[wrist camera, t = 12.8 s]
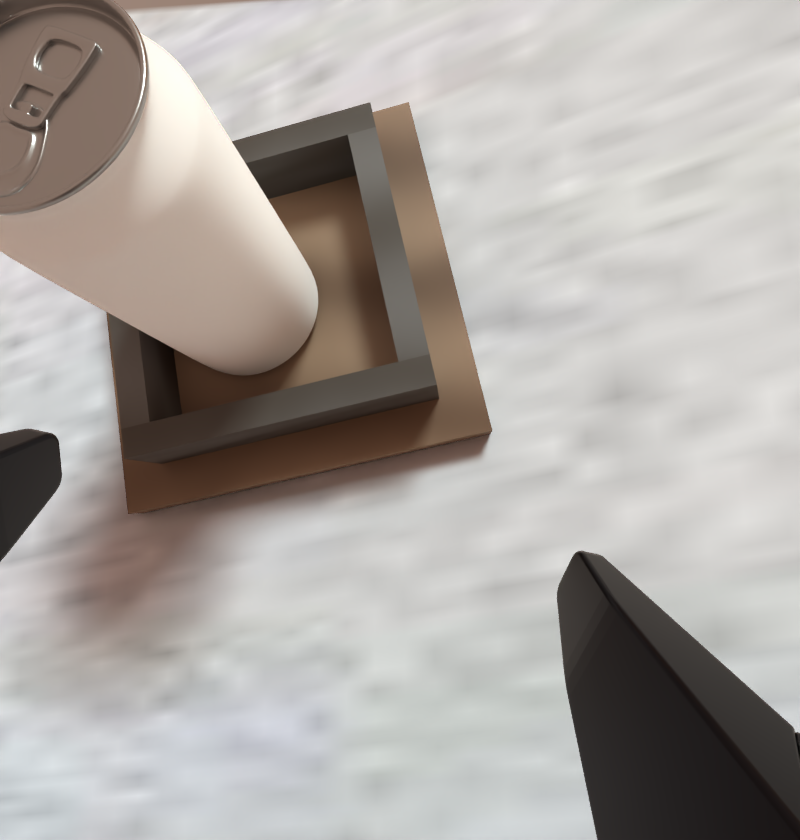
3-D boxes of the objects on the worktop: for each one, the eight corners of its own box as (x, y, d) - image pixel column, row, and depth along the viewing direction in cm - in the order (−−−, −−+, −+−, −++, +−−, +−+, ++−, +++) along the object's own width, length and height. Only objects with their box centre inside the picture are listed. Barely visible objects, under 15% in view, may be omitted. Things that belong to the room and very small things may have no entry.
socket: (490, 433, 21) (497, 420, 18) (142, 513, 22) (85, 515, 19) (410, 118, 24) (402, 54, 21) (107, 203, 25) (52, 156, 22)
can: (159, 344, 22) (-168, 170, 11) (225, 223, 23) (-13, -67, 11) (280, 402, 21) (63, 278, 10) (346, 273, 22) (220, 9, 10)
